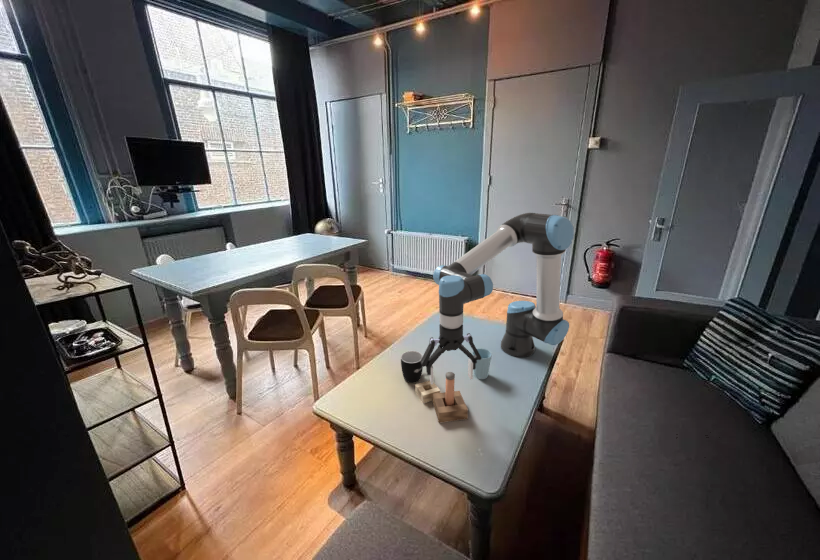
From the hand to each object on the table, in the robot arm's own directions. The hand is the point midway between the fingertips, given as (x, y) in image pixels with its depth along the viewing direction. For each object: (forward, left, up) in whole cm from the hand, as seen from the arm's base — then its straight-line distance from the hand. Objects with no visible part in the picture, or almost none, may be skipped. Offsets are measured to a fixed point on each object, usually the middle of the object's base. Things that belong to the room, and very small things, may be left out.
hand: (451, 379), depth 111 cm
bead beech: (+6, -9, -13) cm, 17 cm away
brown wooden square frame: (0, 0, -13) cm, 13 cm away
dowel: (0, 0, -13) cm, 13 cm away
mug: (+9, -22, -13) cm, 27 cm away
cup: (-18, -18, -13) cm, 28 cm away
